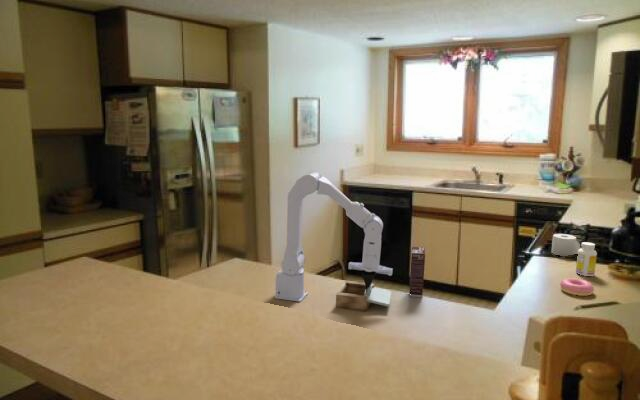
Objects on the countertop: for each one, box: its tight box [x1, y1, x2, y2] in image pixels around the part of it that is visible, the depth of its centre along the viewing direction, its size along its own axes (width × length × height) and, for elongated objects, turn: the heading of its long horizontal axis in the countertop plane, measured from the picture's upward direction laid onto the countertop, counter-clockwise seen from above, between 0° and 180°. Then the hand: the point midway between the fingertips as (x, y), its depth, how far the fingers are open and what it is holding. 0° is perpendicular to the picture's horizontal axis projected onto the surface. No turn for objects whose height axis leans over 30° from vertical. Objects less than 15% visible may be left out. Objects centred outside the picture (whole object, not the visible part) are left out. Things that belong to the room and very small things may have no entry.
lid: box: [364, 283, 392, 307], centre depth 162 cm, size 9×11×3 cm
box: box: [335, 280, 376, 313], centre depth 164 cm, size 10×14×4 cm
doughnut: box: [559, 277, 595, 297], centre depth 176 cm, size 11×11×4 cm
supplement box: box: [408, 246, 426, 298], centre depth 171 cm, size 9×5×16 cm, turn 168°
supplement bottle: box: [575, 241, 598, 277], centre depth 193 cm, size 7×7×13 cm
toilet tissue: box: [550, 233, 582, 256], centre depth 221 cm, size 9×13×9 cm
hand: (368, 292), depth 162 cm, fingers closed, pressing on lid
